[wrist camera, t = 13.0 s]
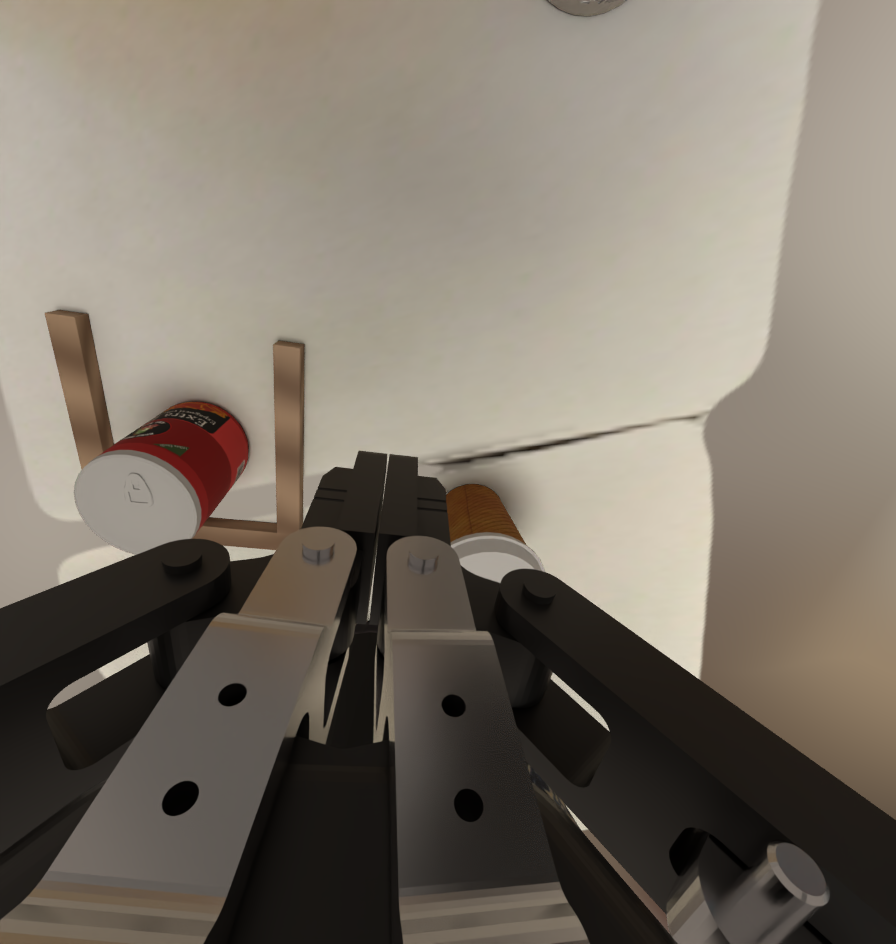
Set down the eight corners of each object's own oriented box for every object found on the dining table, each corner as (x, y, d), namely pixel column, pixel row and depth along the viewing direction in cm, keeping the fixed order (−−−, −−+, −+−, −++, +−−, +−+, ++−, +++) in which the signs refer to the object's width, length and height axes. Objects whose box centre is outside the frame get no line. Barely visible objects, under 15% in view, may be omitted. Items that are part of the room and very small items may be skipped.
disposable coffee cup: (502, 557, 47) (527, 651, 36) (412, 542, 46) (410, 635, 35) (531, 478, 43) (568, 557, 32) (434, 459, 41) (438, 536, 31)
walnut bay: (59, 309, 34) (44, 312, 33) (304, 344, 36) (300, 348, 35) (107, 525, 43) (97, 534, 41) (302, 542, 45) (298, 551, 43)
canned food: (233, 392, 38) (168, 446, 28) (264, 476, 41) (215, 549, 32) (143, 405, 38) (46, 463, 28) (181, 487, 41) (107, 564, 32)
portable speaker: (317, 642, 51) (263, 849, 34) (381, 603, 49) (360, 803, 32) (366, 682, 55) (340, 889, 37) (428, 647, 52) (432, 849, 35)
